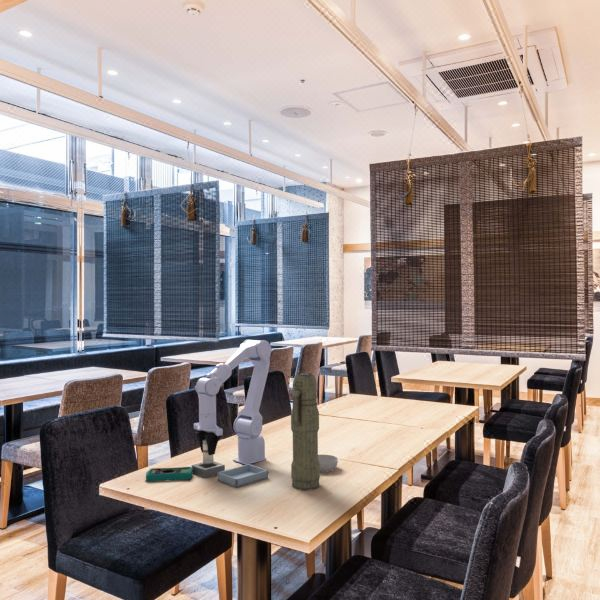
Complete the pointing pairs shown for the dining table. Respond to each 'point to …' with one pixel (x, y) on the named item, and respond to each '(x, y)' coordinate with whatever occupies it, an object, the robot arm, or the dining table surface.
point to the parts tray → (242, 475)
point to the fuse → (206, 454)
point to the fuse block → (207, 469)
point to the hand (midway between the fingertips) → (208, 453)
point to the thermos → (305, 433)
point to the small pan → (327, 462)
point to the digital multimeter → (169, 474)
